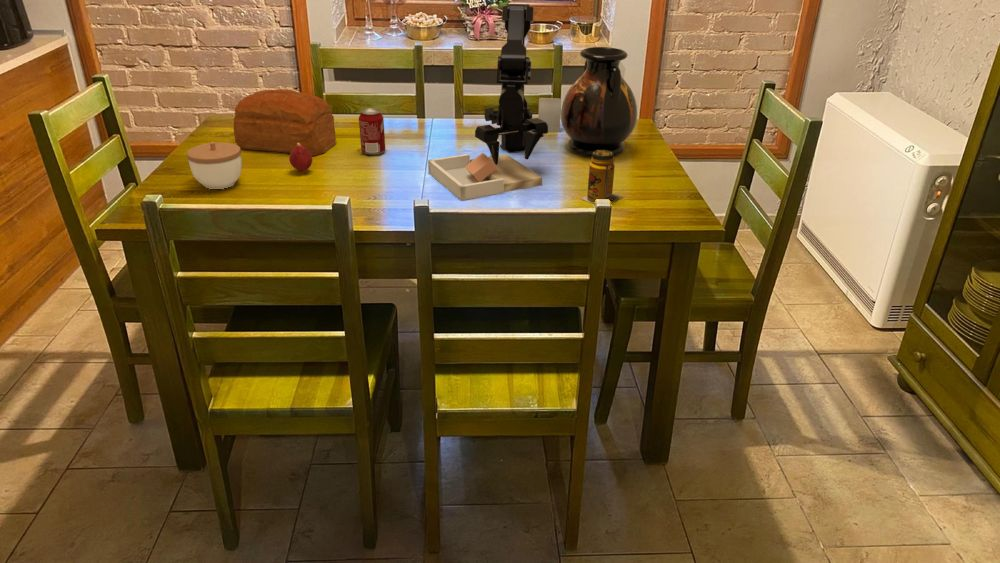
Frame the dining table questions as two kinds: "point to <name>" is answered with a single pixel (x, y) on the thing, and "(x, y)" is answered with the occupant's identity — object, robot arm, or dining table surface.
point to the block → (481, 167)
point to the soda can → (372, 131)
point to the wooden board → (513, 174)
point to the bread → (284, 122)
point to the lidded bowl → (215, 164)
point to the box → (462, 178)
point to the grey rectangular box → (550, 113)
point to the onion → (300, 158)
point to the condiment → (601, 177)
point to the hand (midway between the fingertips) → (511, 161)
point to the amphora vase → (599, 105)
